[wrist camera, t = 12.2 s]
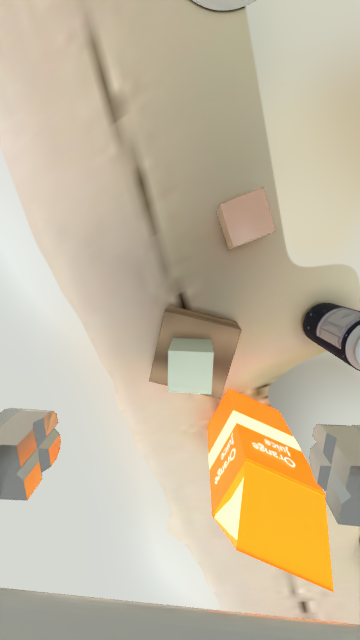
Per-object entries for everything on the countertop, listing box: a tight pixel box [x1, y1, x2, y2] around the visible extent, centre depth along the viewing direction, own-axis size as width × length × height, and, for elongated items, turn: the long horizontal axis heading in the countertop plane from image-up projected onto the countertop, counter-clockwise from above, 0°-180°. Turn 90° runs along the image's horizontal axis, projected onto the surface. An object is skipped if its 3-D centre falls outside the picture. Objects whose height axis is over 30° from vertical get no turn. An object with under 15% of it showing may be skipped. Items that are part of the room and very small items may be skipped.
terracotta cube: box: [217, 187, 275, 250], centre depth 31 cm, size 5×5×5 cm
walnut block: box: [149, 305, 241, 399], centre depth 35 cm, size 10×10×5 cm
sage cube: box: [168, 338, 214, 394], centre depth 30 cm, size 5×5×5 cm
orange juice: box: [207, 389, 334, 592], centre depth 29 cm, size 8×9×20 cm
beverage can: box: [303, 303, 360, 371], centre depth 29 cm, size 6×6×12 cm
